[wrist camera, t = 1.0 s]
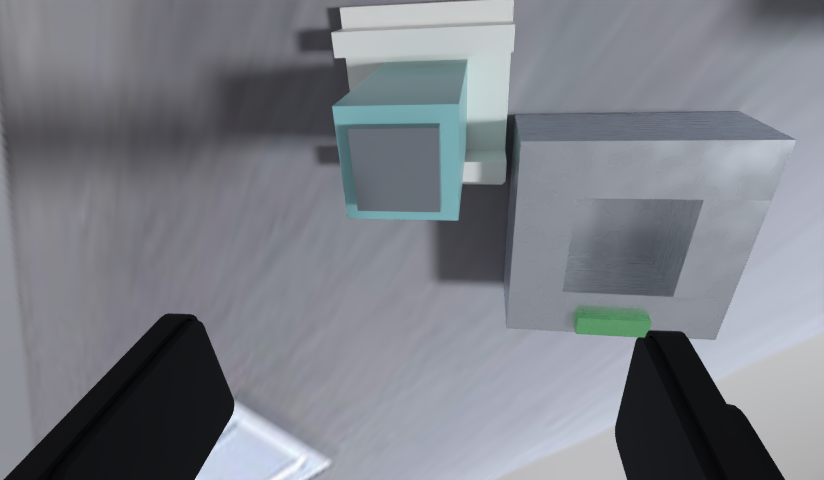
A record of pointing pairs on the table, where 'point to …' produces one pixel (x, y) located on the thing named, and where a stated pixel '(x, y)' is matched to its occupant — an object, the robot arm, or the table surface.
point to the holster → (443, 40)
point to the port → (635, 219)
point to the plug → (404, 141)
